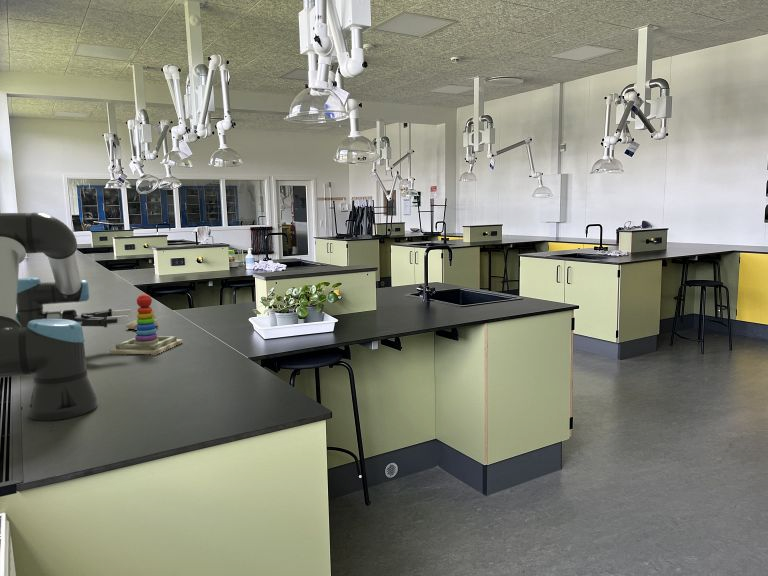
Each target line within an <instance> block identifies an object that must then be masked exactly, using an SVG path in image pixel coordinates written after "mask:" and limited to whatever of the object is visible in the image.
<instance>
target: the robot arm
mask: <svg viewBox="0 0 768 576" xmlns="http://www.w3.org/2000/svg"><path fill="white" fill-rule="evenodd" d="M77 242H78V241H77V238H76V236H75V234H74V232H73V231H72V229H71V228H69V226H68V225H67V224H65V223H64V222H63V221H61V220H60V219H59V218H57V217H54V216H52V215H49V214H46V213H43V212H0V379H1V378H9V377H17V376H25V375H33V385H34V386H33V388H32V389H33V390H32V393H31V398H30V403H29V405H28V415H29V418H30V419H32V420H33V421H34V420H35V421H45V422H46V421H58V420H60V421H61V420H66V419H71V418H74V417H79V416H81V415H85V414H87V413H89V412H92V411H93V410H95V409H97V408H98V404H99V402H98V395H97V394H96V393H95V391H94V388H93V386H92V384H91V382H90V379H89V377H88V367H87V360H86V357H87V356H86V349H85V348H86V347H85V342H86V339H85V336H84V330H83V327H102V328H108V326H111V325H123V324H124V325H126V324H129V318H131V317H132V309H131V308H130V309H118V310H115V309H114V310H113V309H112V308H108V309H107V310H100V311H99V310H98V311H92V312H82V313H81V314H79V315H77V311H76V309H64V310H48V311H47V310H46V311H44V306H43V305H55V304H67V303H70V304H71V303H81V302H82V303H83V302H87V301H89V300H90V286H89V281H87V280H85V279H84V280H81V275H80V270H79V266H78V261H77V255H76V252H77V250H78V243H77ZM42 253H43V254H44V256H46V257H47V258H48V261H49V266H50V269H51V273H52V275H53V279H54V281H52V282H49V281H48V282H41V279H40V277H21V278H19V268H20V264H21V263H22V262H23V261H24V260H25V259H26V256H27V254H42Z"/></svg>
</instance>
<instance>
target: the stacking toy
mask: <svg viewBox="0 0 768 576" xmlns="http://www.w3.org/2000/svg"><path fill="white" fill-rule="evenodd" d="M152 302H153V301H152V297H151V296H150V295H149V294H146V293H143V294H140V295H138V296H137V298H136V303H137V305H138V308H137V315H136V318H137V319H136V320H137V323H138V324H137V326H136V328H137V329H138V330H137V331H135V334H136V335H135V336H134V338H135V339H136V341H135V344H142V345H153V344H155V343H158V339H157V336H158V334H157V331H158V330H157V327H155V323H153V322H154V318H152V317H153V314H152V313H151V312H152V311H153V307H151V305H152Z"/></svg>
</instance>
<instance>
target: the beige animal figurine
mask: <svg viewBox="0 0 768 576" xmlns="http://www.w3.org/2000/svg"><path fill="white" fill-rule="evenodd" d="M151 313H152V314H153V317H152V318H154V322H153V323H155V326H157V327H159V324H158V322H159V320H158V319H157V318H158V317H157V316H156V314H155V311H154V310H152V312H151ZM137 324H138V323H137V319H136V320H133V321H130V322H128V323H126V324H125V326H126V329H127V328H128V329H134V330H133V331H135V330H138V329H137V328H136V326H137ZM128 329H127V330H128Z"/></svg>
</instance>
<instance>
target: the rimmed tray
mask: <svg viewBox="0 0 768 576" xmlns="http://www.w3.org/2000/svg"><path fill="white" fill-rule="evenodd" d="M157 339H158V343H155V344H153V345H142V344H135V341H136V339H135V337H132V338H130V339H128V340H125V341H122V342H120V343H117V344H115V347H114V348H111V349H109V350H108V351H109V355H127V354H151V355H150V356H157V354H158V355H160V354H162V353H164V352H167V351H169V350H171V349H173V348H175V347H177V346H176V345H178V346H180V345H182V344H183V339H178V338H177V336H176V335H175V336H172V335H170V336H169V335H168V336H167V335H157ZM181 343H182V344H181ZM179 344H180V345H179ZM174 346H175V347H174ZM172 347H173V348H172ZM170 348H171V349H170ZM168 349H169V350H168ZM166 350H167V351H166ZM163 351H164V352H163ZM161 352H162V353H161ZM159 353H160V354H159Z"/></svg>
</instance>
